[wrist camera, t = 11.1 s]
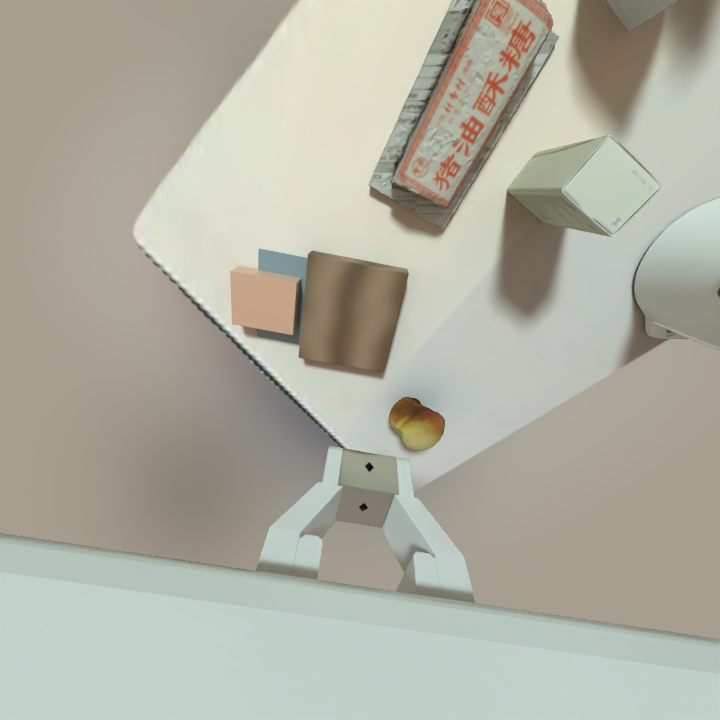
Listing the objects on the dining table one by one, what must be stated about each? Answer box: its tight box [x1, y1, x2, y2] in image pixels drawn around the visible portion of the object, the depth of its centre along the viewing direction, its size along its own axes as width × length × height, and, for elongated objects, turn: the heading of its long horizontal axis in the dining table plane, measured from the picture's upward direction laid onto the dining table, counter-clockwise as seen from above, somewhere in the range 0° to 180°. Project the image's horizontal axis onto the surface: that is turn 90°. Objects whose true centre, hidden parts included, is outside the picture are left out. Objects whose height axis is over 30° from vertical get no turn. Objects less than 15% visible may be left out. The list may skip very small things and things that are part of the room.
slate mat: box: [258, 249, 308, 344], centre depth 41 cm, size 8×12×1 cm, turn 170°
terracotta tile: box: [231, 266, 301, 335], centre depth 39 cm, size 8×7×2 cm
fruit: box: [389, 397, 445, 450], centre depth 45 cm, size 8×8×8 cm
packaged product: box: [369, 0, 559, 229], centre depth 29 cm, size 18×5×10 cm
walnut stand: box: [299, 251, 408, 373], centre depth 40 cm, size 12×14×2 cm
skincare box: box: [507, 135, 662, 237], centre depth 28 cm, size 6×4×12 cm
